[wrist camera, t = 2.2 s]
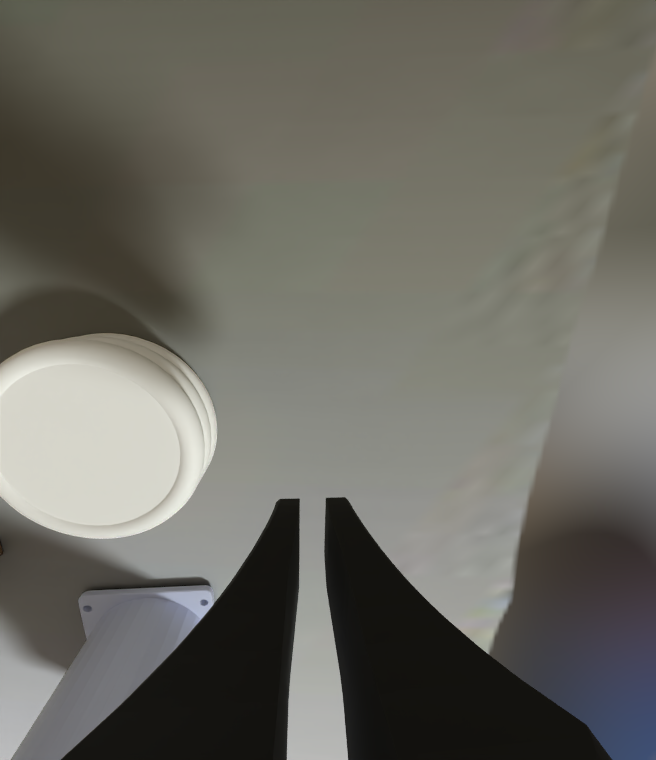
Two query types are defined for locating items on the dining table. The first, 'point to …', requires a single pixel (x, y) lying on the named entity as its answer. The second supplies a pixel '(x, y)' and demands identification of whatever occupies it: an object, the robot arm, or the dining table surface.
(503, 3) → the dining table surface
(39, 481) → the white round dish
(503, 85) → the dining table surface
